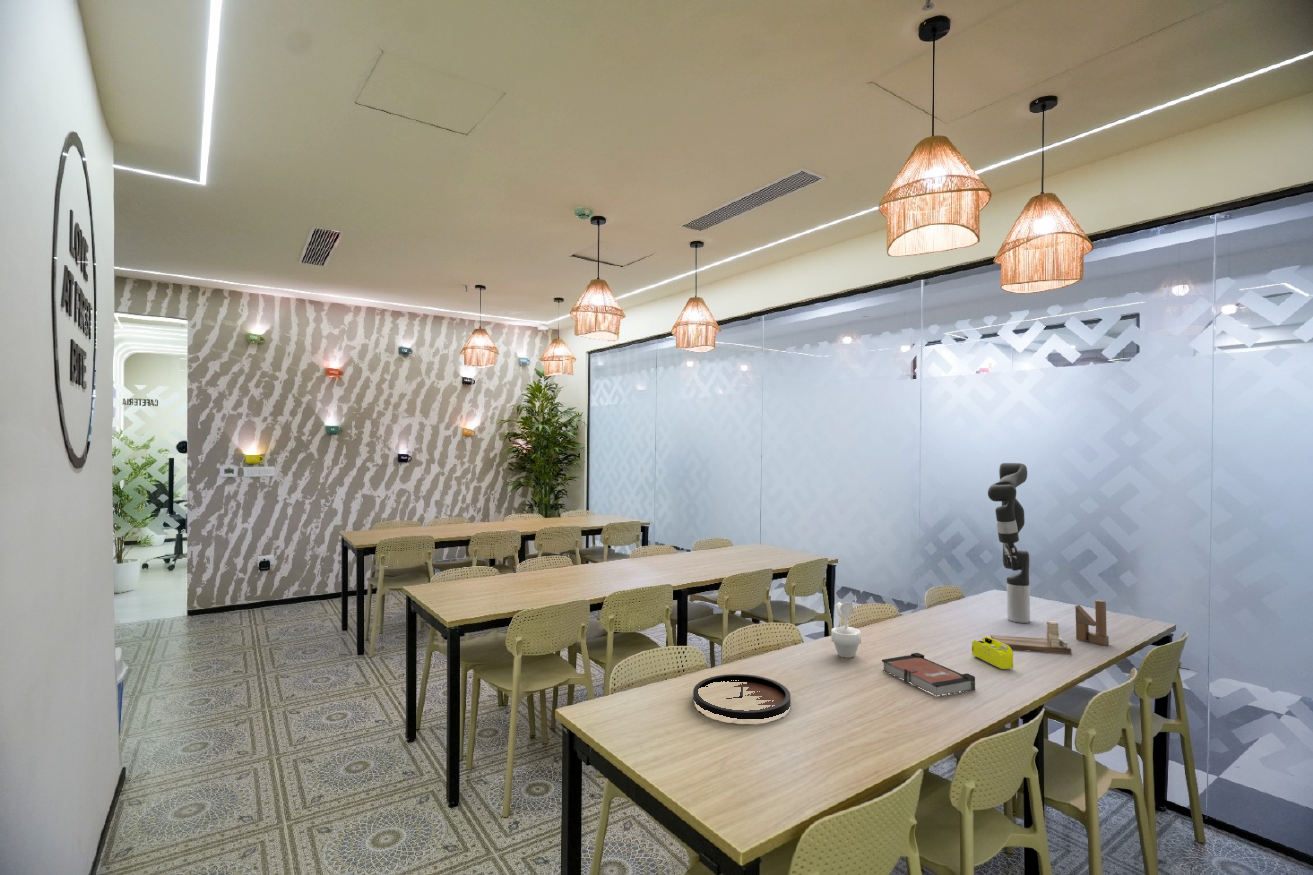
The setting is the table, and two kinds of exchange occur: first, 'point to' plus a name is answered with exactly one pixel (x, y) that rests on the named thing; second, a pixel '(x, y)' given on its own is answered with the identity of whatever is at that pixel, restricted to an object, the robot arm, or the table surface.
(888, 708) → the table surface
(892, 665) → the book
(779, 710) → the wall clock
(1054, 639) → the beige tall blocky piece
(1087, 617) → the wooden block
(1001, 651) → the yellow toy chassis
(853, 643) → the potted plant
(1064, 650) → the walnut board
